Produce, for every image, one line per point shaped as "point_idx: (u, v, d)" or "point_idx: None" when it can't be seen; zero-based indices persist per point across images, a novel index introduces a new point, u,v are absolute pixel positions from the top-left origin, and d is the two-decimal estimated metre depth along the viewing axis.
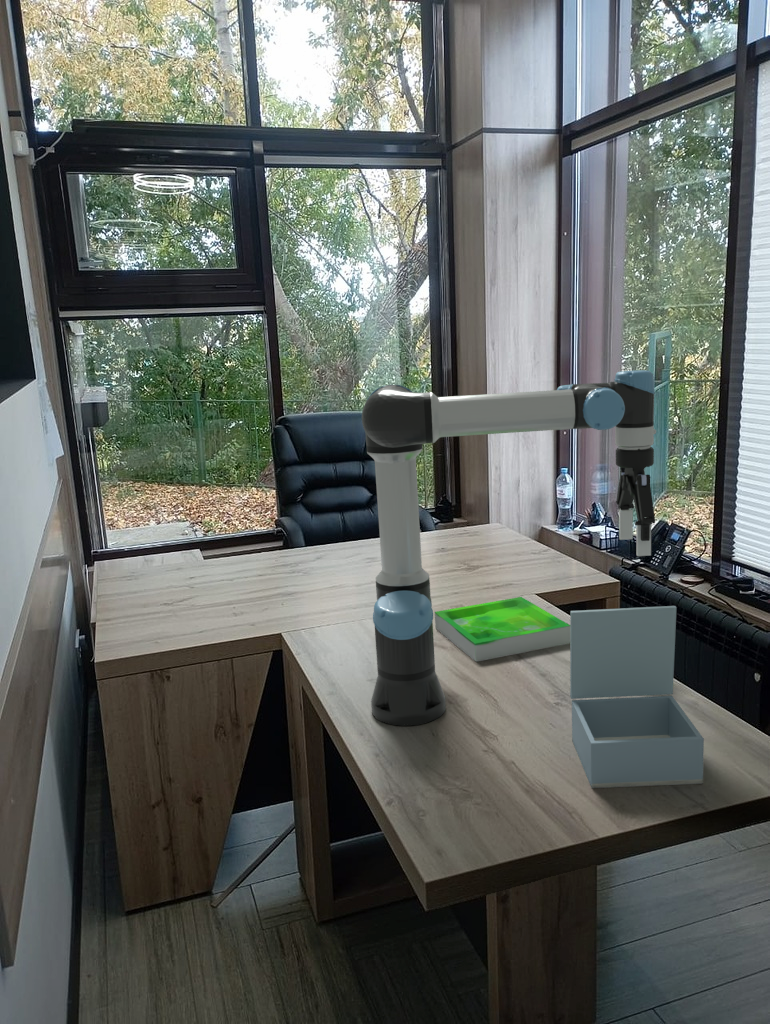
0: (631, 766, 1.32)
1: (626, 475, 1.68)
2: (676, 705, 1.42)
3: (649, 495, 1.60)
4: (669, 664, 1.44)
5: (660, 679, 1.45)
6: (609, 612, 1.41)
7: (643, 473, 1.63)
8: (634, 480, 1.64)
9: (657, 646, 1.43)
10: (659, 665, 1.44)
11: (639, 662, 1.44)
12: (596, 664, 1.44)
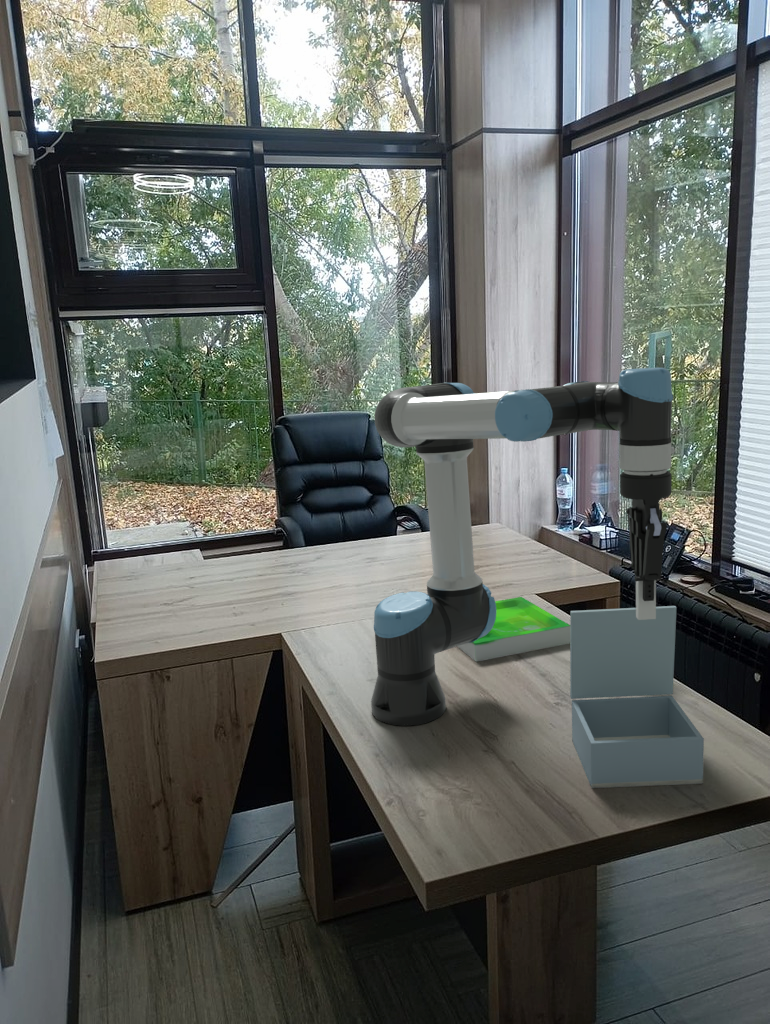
0: (631, 766, 1.32)
1: (634, 507, 1.26)
2: (676, 705, 1.42)
3: (660, 548, 1.21)
4: (669, 664, 1.44)
5: (660, 679, 1.45)
6: (609, 612, 1.41)
7: (658, 512, 1.20)
8: (644, 517, 1.22)
9: (657, 646, 1.43)
10: (659, 665, 1.44)
11: (639, 662, 1.44)
12: (596, 664, 1.44)
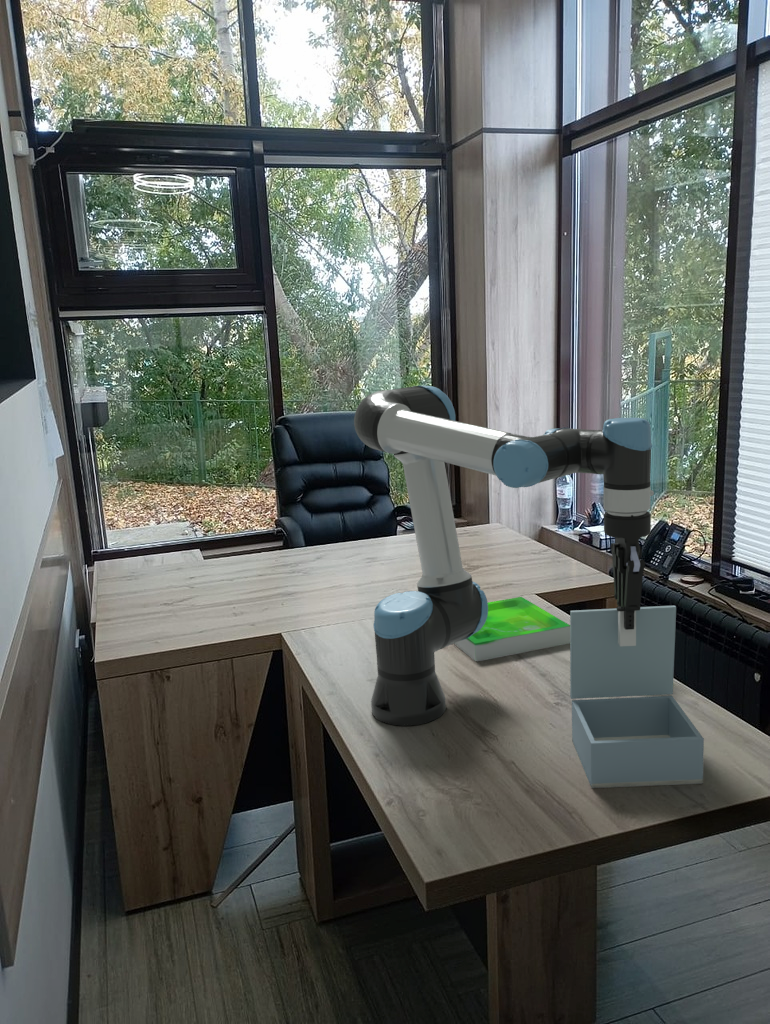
0: (631, 766, 1.32)
1: (616, 543, 1.38)
2: (676, 705, 1.42)
3: (639, 583, 1.33)
4: (669, 664, 1.44)
5: (660, 679, 1.45)
6: (609, 612, 1.42)
7: (638, 550, 1.32)
8: (625, 554, 1.33)
9: (657, 646, 1.43)
10: (659, 664, 1.44)
11: (639, 662, 1.44)
12: (596, 664, 1.45)
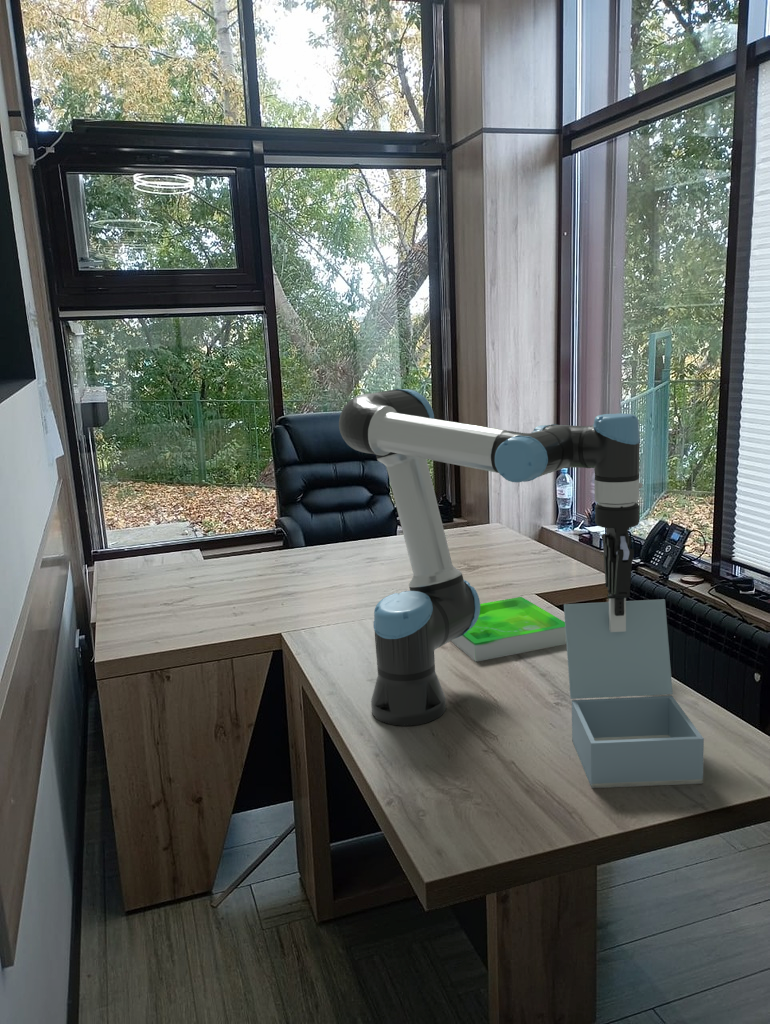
0: (631, 766, 1.32)
1: (607, 534, 1.44)
2: (676, 705, 1.42)
3: (628, 571, 1.39)
4: (665, 661, 1.46)
5: (658, 677, 1.46)
6: (601, 604, 1.48)
7: (627, 539, 1.39)
8: (615, 543, 1.40)
9: (651, 640, 1.47)
10: (655, 661, 1.46)
11: (635, 658, 1.47)
12: (593, 660, 1.47)
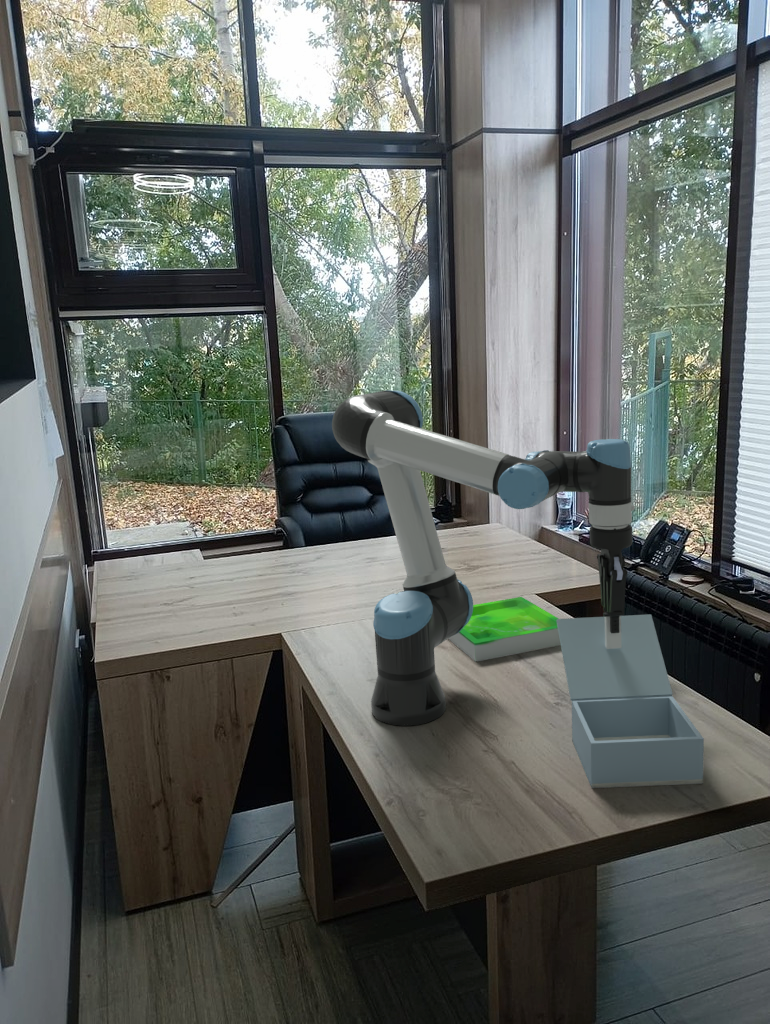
0: (631, 766, 1.32)
1: (601, 554, 1.50)
2: (676, 705, 1.42)
3: (622, 590, 1.45)
4: (660, 665, 1.50)
5: (656, 679, 1.48)
6: (591, 618, 1.57)
7: (621, 560, 1.44)
8: (609, 564, 1.46)
9: (643, 648, 1.52)
10: (650, 665, 1.50)
11: (630, 663, 1.50)
12: (589, 664, 1.51)
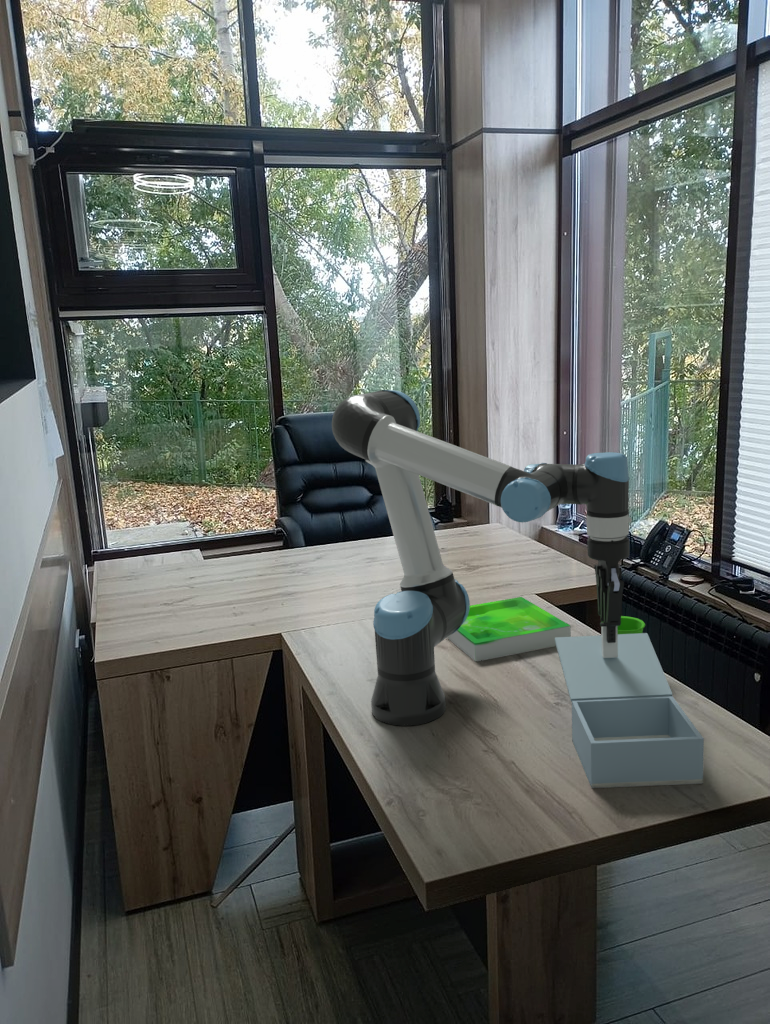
0: (631, 766, 1.32)
1: (599, 565, 1.53)
2: (676, 705, 1.42)
3: (619, 601, 1.48)
4: (658, 671, 1.51)
5: (655, 682, 1.49)
6: (588, 637, 1.61)
7: (618, 571, 1.47)
8: (607, 575, 1.48)
9: (641, 658, 1.54)
10: (649, 672, 1.51)
11: (629, 670, 1.52)
12: (588, 672, 1.52)
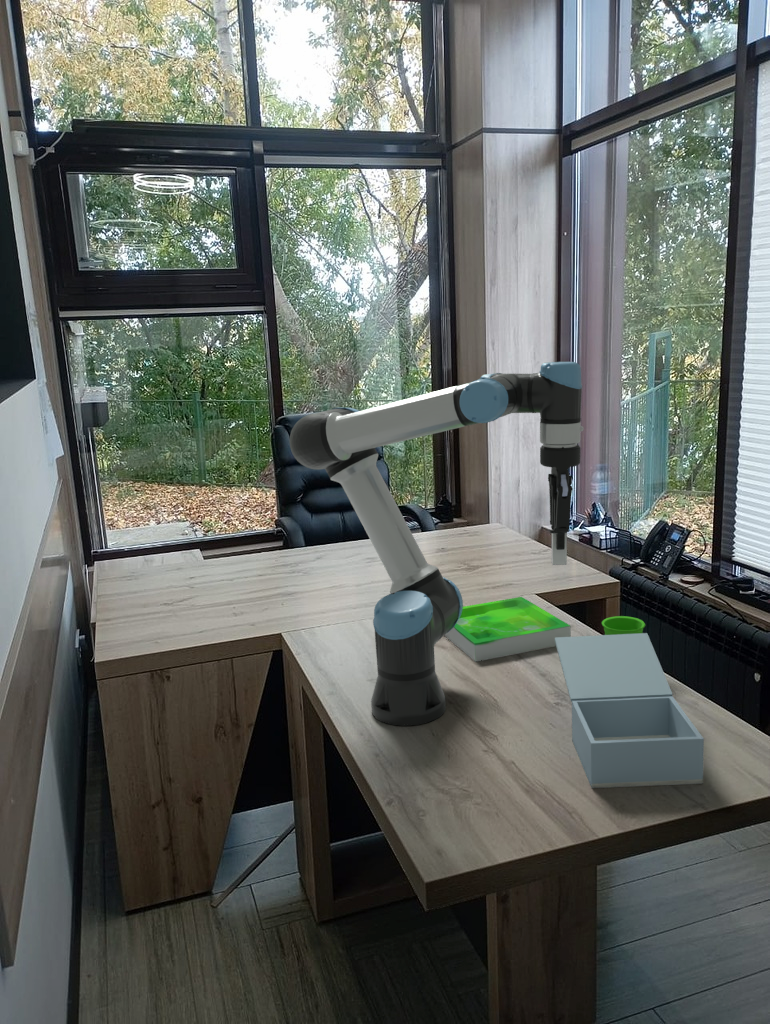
0: (631, 766, 1.32)
1: (551, 473, 1.56)
2: (676, 705, 1.42)
3: (568, 507, 1.51)
4: (658, 671, 1.51)
5: (655, 682, 1.49)
6: (588, 637, 1.61)
7: (567, 477, 1.51)
8: (557, 481, 1.52)
9: (641, 658, 1.54)
10: (649, 672, 1.51)
11: (629, 670, 1.52)
12: (588, 672, 1.52)
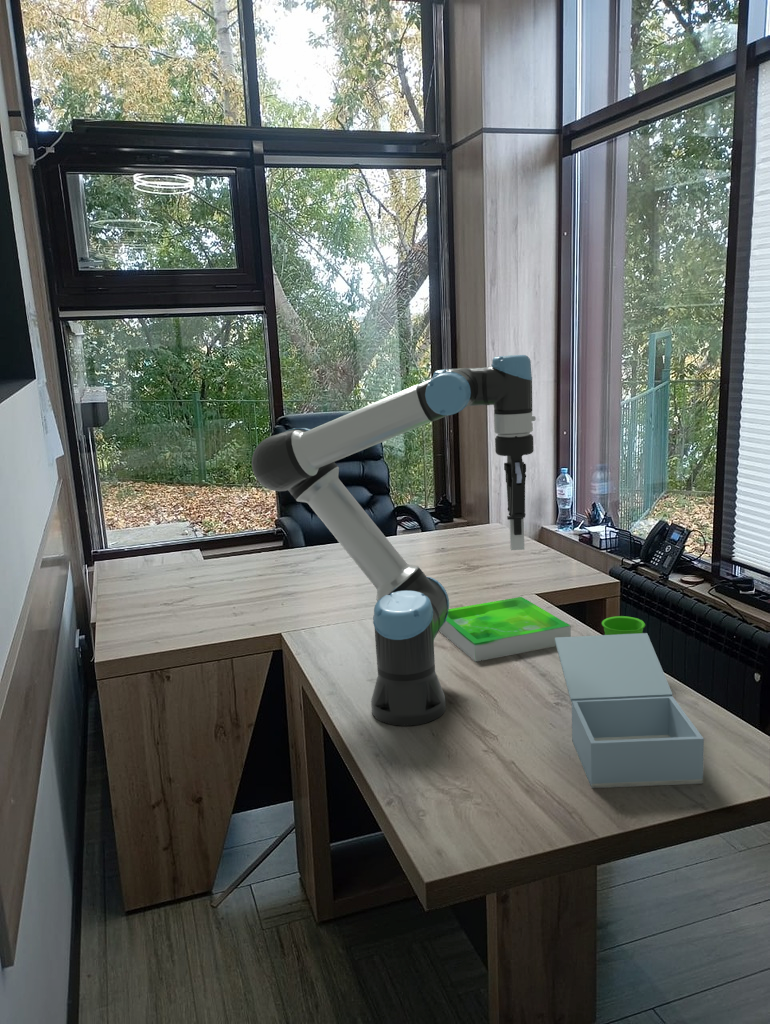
0: (631, 766, 1.32)
1: None
2: (676, 705, 1.42)
3: (522, 493, 1.58)
4: (658, 671, 1.51)
5: (655, 682, 1.49)
6: (588, 637, 1.61)
7: (521, 465, 1.58)
8: (511, 469, 1.59)
9: (641, 658, 1.54)
10: (649, 672, 1.51)
11: (629, 670, 1.52)
12: (588, 672, 1.52)
